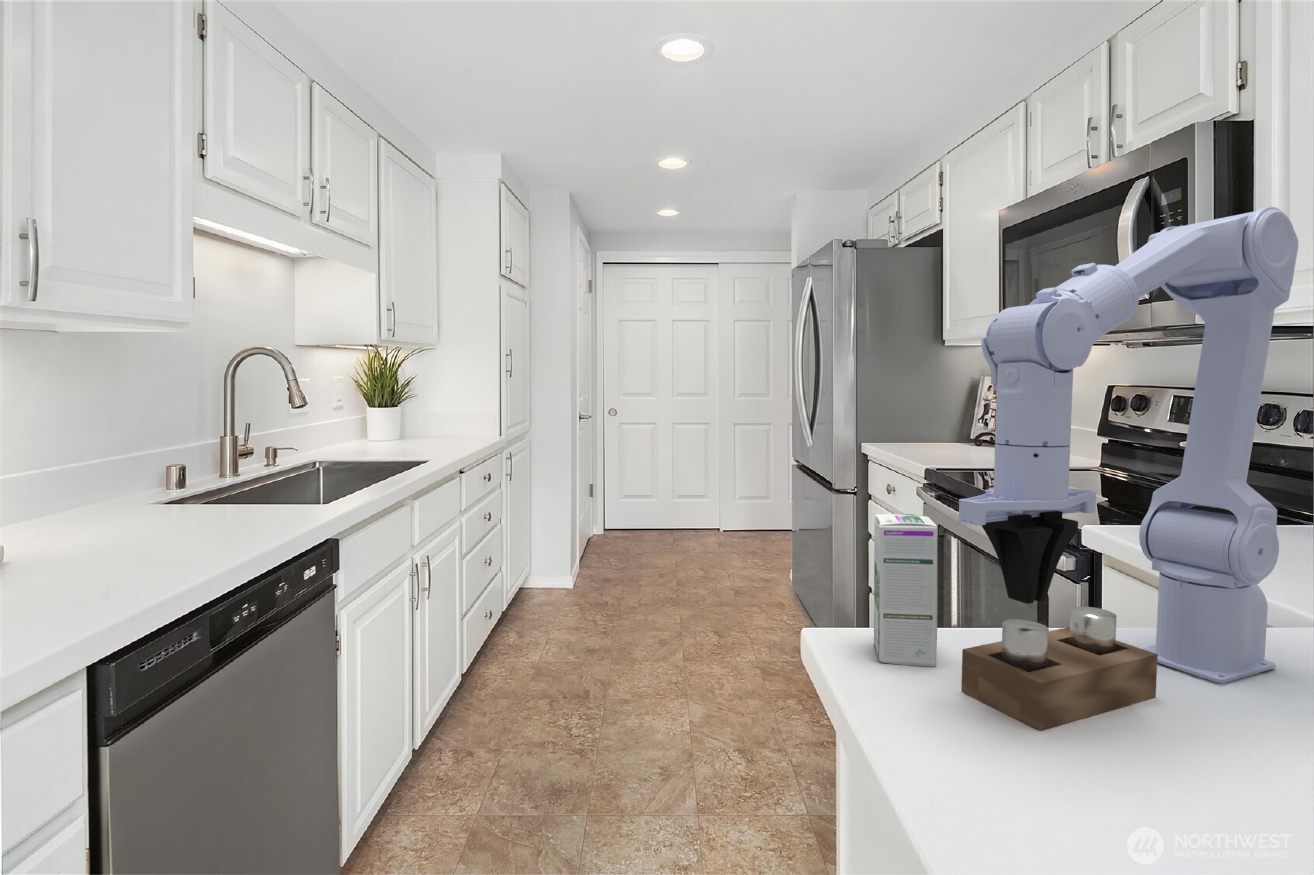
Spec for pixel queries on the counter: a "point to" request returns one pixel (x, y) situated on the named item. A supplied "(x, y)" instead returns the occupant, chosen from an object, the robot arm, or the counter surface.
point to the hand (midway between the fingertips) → (1026, 599)
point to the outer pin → (1025, 644)
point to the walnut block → (1060, 681)
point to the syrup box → (905, 589)
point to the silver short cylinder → (1093, 630)
